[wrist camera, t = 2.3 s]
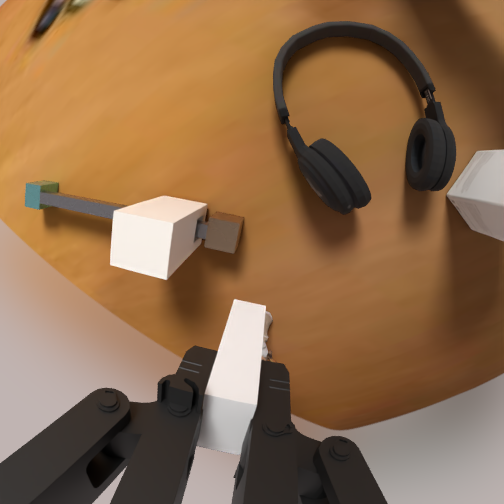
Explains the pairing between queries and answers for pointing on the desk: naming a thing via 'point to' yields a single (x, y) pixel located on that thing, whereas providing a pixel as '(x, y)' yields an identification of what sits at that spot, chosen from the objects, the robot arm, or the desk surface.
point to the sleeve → (155, 235)
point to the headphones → (334, 160)
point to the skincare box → (482, 193)
